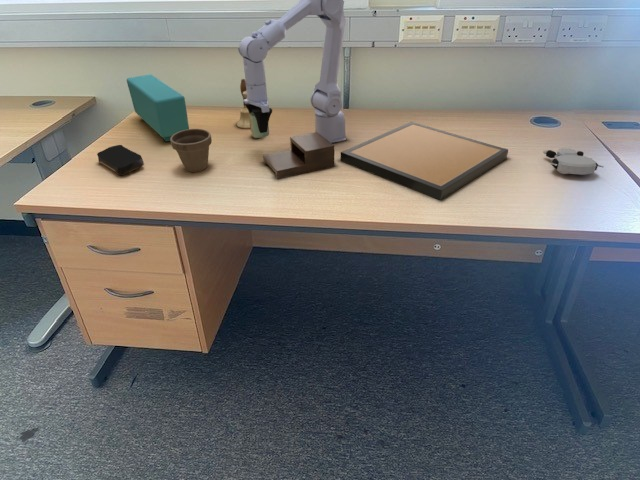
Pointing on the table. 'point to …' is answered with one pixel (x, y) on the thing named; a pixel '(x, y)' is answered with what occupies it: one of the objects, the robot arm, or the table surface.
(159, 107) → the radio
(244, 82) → the hand bell
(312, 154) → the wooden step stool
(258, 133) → the pencil cup
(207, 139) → the flower pot
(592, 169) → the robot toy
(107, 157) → the black sponge
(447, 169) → the cork board
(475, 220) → the table surface
